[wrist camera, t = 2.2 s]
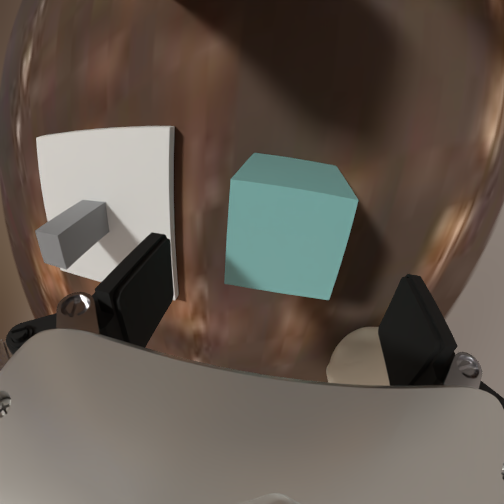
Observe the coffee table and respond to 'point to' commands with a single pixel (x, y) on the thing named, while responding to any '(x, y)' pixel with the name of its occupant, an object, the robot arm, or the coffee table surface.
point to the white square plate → (105, 196)
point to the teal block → (288, 225)
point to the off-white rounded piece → (358, 360)
